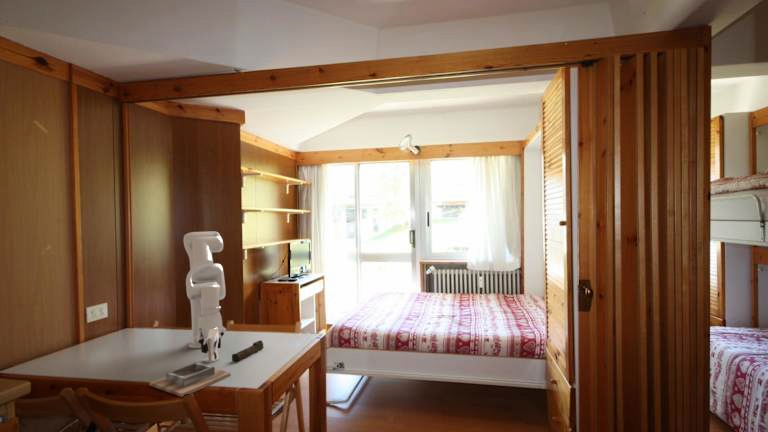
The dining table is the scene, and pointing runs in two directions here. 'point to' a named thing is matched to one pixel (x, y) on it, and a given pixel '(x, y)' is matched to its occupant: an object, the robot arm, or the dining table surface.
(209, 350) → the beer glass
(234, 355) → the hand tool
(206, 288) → the robot arm
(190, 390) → the glass dock
